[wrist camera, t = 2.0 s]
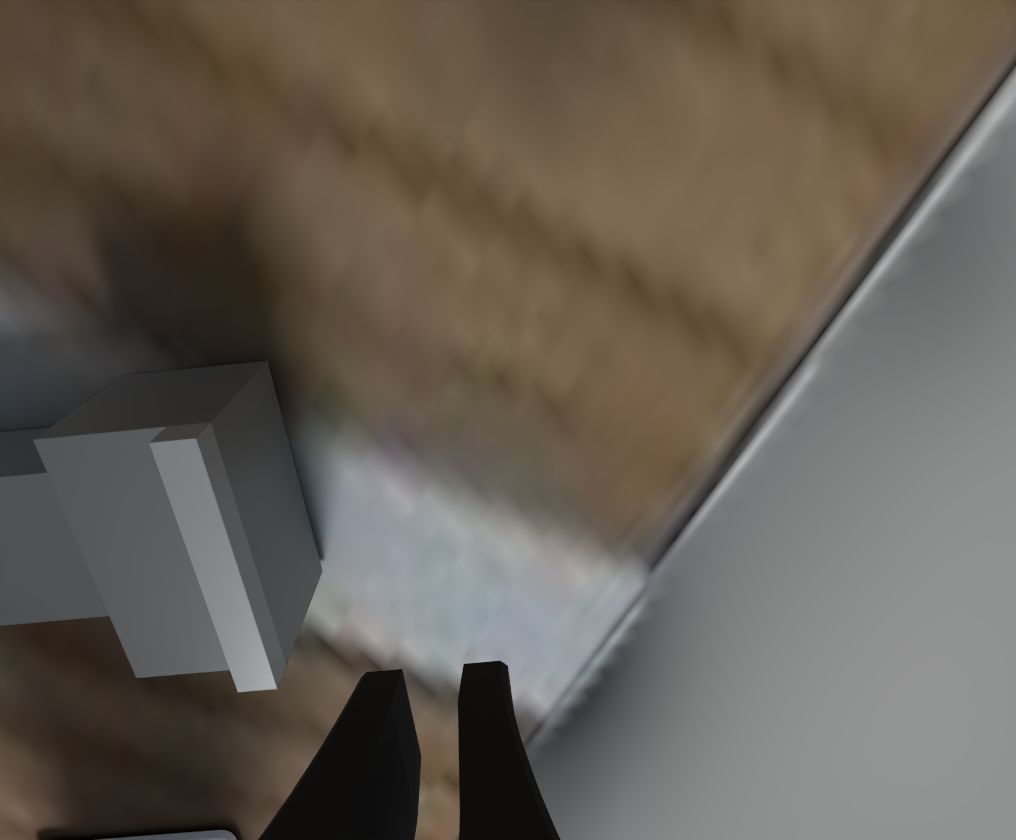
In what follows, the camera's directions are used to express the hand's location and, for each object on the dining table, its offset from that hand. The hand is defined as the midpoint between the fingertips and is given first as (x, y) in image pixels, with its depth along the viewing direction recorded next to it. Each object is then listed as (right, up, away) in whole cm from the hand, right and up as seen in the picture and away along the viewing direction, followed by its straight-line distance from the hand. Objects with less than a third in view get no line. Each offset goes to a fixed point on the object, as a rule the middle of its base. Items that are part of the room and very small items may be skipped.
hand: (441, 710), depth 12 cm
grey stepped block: (-9, +3, +9) cm, 13 cm away
